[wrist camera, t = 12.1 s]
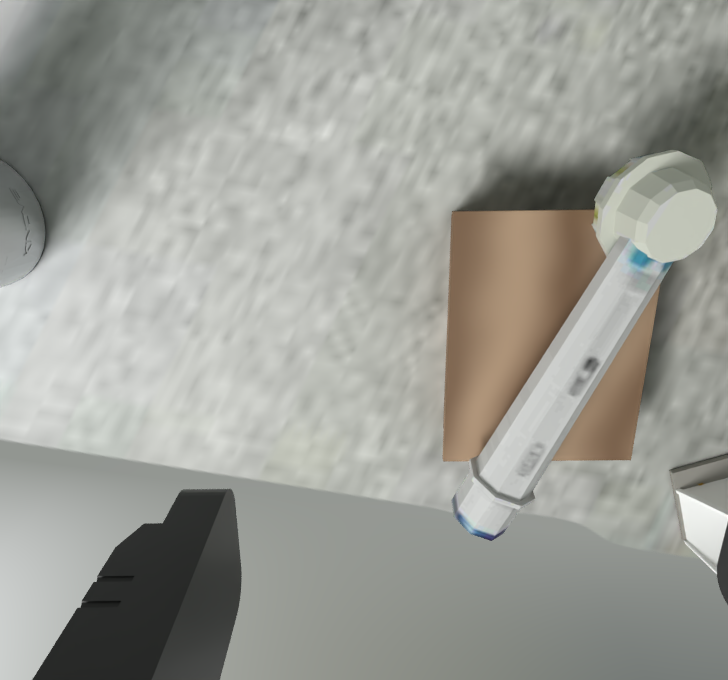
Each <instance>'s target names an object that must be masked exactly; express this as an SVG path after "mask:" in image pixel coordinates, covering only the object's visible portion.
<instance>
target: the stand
mask: <svg viewBox="0 0 728 680" xmlns="http://www.w3.org/2000/svg"><path fill="white" fill-rule="evenodd" d="M594 212H595V209H582V210H501V211H452V218H451V244H450V269H449V295H448V321H447V347H446V372H445V398H444V424H443V428H444V436H443V461H469V460H470V459H471V458H473V457H476V456H478V455H480V453H481V452H482V450H483V449H484V447H485V446H486V444H487V442H488V441H489V439H490V438H491V436H492V435H493V433H494V432H495V430H496V428H497V427H498V425H499V424H500V422H501V421H502V419H503V418H504V416H505V414H506V413H507V411H508V410H509V408H510V407H511V405H512V404H513V402H514V400H515V399H516V397H517V396H518V394H519V393H520V391H521V390H522V388H523V386H524V385H525V383H526V382H527V380H528V379H529V377H530V376H531V374H532V372H533V371H534V369H535V368H536V366H537V365H538V363H539V362H540V360H541V359H542V357H543V355H544V354H545V352H546V351H547V349H548V348H549V346H550V345H551V343H552V341H553V340H554V338H555V337H556V335H557V334H558V332H559V331H560V329H561V327H562V326H563V324H564V323H565V321H566V320H567V318H568V317H569V315H570V313H571V312H572V310H573V309H574V307H575V306H576V304H577V303H578V301H579V299H580V298H581V296H582V295H583V293H584V292H585V290H586V289H587V287H588V285H589V284H590V282H591V281H592V279H593V278H594V276H595V275H596V273H597V271H598V270H599V268H600V267H601V265H602V264H603V262H604V261H605V259H606V255H605V253H604V251H603V249H602V247H601V245H600V243H599V241H598V239H597V237H596V232H595V230H594V228H593V226H592V223H593V221H594ZM659 289H660V285H659V286H658V288H657V290H656V291H655V293H654V294H653V296H652V298H651V299H650V301H649V303H648V304H647V306H646V307H645V309H644V311H643V312H642V314H641V316H640V317H639V319H638V320H637V322H636V324H635V325H634V327H633V329H632V330H631V332H630V333H629V335H628V337H627V338H626V340H625V342H624V343H623V345H622V346H621V348H620V350H619V351H618V353H617V355H616V356H615V358H614V359H613V361H612V363H611V364H610V366H609V368H608V369H607V371H606V372H605V374H604V376H603V377H602V379H601V381H600V382H599V384H598V385H597V387H596V389H595V390H594V392H593V394H592V395H591V397H590V398H589V400H588V402H587V403H586V405H585V407H584V408H583V410H582V411H581V413H580V415H579V416H578V418H577V420H576V421H575V423H574V424H573V426H572V428H571V429H570V431H569V433H568V434H567V436H566V438H565V439H564V441H563V442H562V444H561V446H560V447H559V449H558V451H557V452H556V454H555V455H554V457H553V459H552V460H551V461H566V460H631V456H632V450H633V444H634V438H635V432H636V426H637V420H638V414H639V408H640V402H641V396H642V390H643V385H644V379H645V373H646V367H647V361H648V355H649V349H650V343H651V337H652V331H653V325H654V319H655V313H656V307H657V301H658V295H659Z"/></svg>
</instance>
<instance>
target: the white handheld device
mask: <svg viewBox="0 0 728 680" xmlns="http://www.w3.org/2000/svg"><path fill="white" fill-rule="evenodd" d="M629 160H630V161H629V162H628V163H627V164H626V165H624V166H623V167H622V168H621V169H619V170H618V171H617V172H616V173H614V174H613V175H612V176H610V177H608V176H607V178H606V180H605V182H604V183H603V185H602V187H601V188H600V190H599V192H598V194H597V195H596V197H595V199H594V201H596V203H595V212H594V221H593V223H592V226H593V228H594V230H595V232H596V237H597V239H598V241H599V243H600V245H601V247H602V249H603V251H604V253H605V255H606V259H605V261H604V262H603V264H602V265H601V267H600V268H599V270H598V271H597V273H596V275H595V276H594V278H593V279H592V281H591V282H590V284H589V285H588V287H587V289H586V290H585V292H584V293H583V295H582V296H581V298H580V299H579V301H578V303H577V304H576V306H575V307H574V309H573V310H572V312H571V313H570V315H569V317H568V318H567V320H566V321H565V323H564V324H563V326H562V327H561V329H560V331H559V332H558V334H557V335H556V337H555V338H554V340H553V341H552V343H551V345H550V346H549V348H548V349H547V351H546V352H545V354H544V355H543V357H542V359H541V360H540V362H539V363H538V365H537V366H536V368H535V369H534V371H533V372H532V374H531V376H530V377H529V379H528V380H527V382H526V383H525V385H524V386H523V388H522V390H521V391H520V393H519V394H518V396H517V397H516V399H515V400H514V402H513V404H512V405H511V407H510V408H509V410H508V411H507V413H506V414H505V416H504V418H503V419H502V421H501V422H500V424H499V425H498V427H497V428H496V430H495V432H494V433H493V435H492V436H491V438H490V439H489V441H488V442H487V444H486V446H485V447H484V449H483V450H482V452H481V453H480V455H478V456H476V457H473V458H471V459H470V460H469V462H468V464H469V470H470V471H469V473H468V474H467V476H466V477H465V479H464V481H463V482H462V484H461V486H460V487H459V489H458V491H457V492H456V494H455V495H454V497H453V499H452V508H453V516H454V517H455V518H456V519H457V520H458V522H460V524H462V526H463V527H464V528H465V529H466V530H467V531H468V532H469V533H470V534H473V535H475V536H478V537H482V538H484V539H488V540H490V541H492V540H494V539H495V538H497V537H498V536H500V535H502V534H503V533H504V532H505V530H506V529H507V528H508V526H509V524H510V523H511V522H512V520H513V519H514V517H515V516H516V515H517V513H518V512H519V510H520V509H521V508H523V507H525V506H527V505H528V504H530V503H532V502H533V501H534V499H535V496H534V493H533V490H534V488H535V486H536V485H537V483H538V481H539V480H540V478H541V477H542V475H543V473H544V472H545V470H546V468H547V467H548V465H549V464H550V462H551V460H552V459H553V457H554V455H555V454H556V452H557V451H558V449H559V447H560V446H561V444H562V442H563V441H564V439H565V438H566V436H567V434H568V433H569V431H570V429H571V428H572V426H573V424H574V423H575V421H576V420H577V418H578V416H579V415H580V413H581V411H582V410H583V408H584V407H585V405H586V403H587V402H588V400H589V398H590V397H591V395H592V394H593V392H594V390H595V389H596V387H597V385H598V384H599V382H600V381H601V379H602V377H603V376H604V374H605V372H606V371H607V369H608V368H609V366H610V364H611V363H612V361H613V359H614V358H615V356H616V355H617V353H618V351H619V350H620V348H621V346H622V345H623V343H624V342H625V340H626V338H627V337H628V335H629V333H630V332H631V330H632V329H633V327H634V325H635V324H636V322H637V320H638V319H639V317H640V316H641V314H642V312H643V311H644V309H645V307H646V306H647V304H648V303H649V301H650V299H651V298H652V296H653V294H654V293H655V291H656V290H657V288H658V286H659V285H660V283H661V281H662V280H663V278H664V277H665V275H666V273H667V272H668V270H669V268H670V267H671V265H672V263H673V262H674V261H678V260H681V259H684V258H686V257H687V256H688V255H690V254H691V253H693V252H694V251H696V250H697V249H698V248H700V247H701V246H702V245H703V243H704V242H705V240H706V239H707V237H708V236H709V234H710V233H711V232H712V230H713V228H714V223H715V219H716V214H717V205H716V202H715V199H714V197H713V194H712V192H711V189H712V184H711V182H710V179H709V177H708V174H707V172H706V169H705V167H704V164H703V162H702V161H700V160H698V159H696V158H694V157H691V156H689V155H687V154H685V153H682V152H680V151H677V150H668V151H664V152H660V153H655V154H649V155H644V156H640V157H636V158H631V159H629Z"/></svg>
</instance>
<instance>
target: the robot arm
mask: <svg viewBox="0 0 728 680" xmlns="http://www.w3.org/2000/svg"><path fill="white" fill-rule="evenodd" d="M44 242H45V224H44V218H43V214H42V211H41V208H40V204H39V203H38V201H37V199H36V197H35V195H34V193H33V191H32V189H31V188H30V187H29V186H28V184H27V183H26V182H25V180H24V179H23V178H22V177H21V176H20V175H19V174H18V173H17V172H16V171H15V170H14V169H13V168H12V167H11V166H9V165H8V164H6V163H5V162H3V161H1V160H0V287H3V286H6V285H9V284H12V283H14V282H16V281H18V280H20V279H22V278H23V277H25V276H26V275H27V274H28V273H29V272H30V271H32V269H33V268H34V267H35V265H36V264H37V262H38V261H39V259H40V256H41V254H42V251H43V248H44ZM240 561H241V560H240V550H239V539H238V529H237V518H236V507H235V498H234V494H233V492H232V490H231V489H191V490H190V489H186V490H182V491H181V492H180V493H179V495H178V496H177V498H176V500H175V502H174V504H173V505H172V507H171V509H170V511H169V513H168V515H167V517H166V518H165V520H164V522H163V523H162V524H161V523H160V524H159V523H158V524H143V525H142V526H141V527H140V528H138V529H137V530H136V531H135V532H134V533H132V534H131V535H130V536H129V537H127V538H126V539H125V540H124V541H123V542H121V543H120V544H119V545H118V546H117V547H115V549H114V551H113V552H112V554H111V555H110V557H109V559H108V560H107V562H106V563H105V565H104V567H103V568H102V570H101V571H100V573H99V575H98V576H97V577H98V578H97V582H94V583H93V584H92V586H91V587H90V589H89V590H88V592H87V594H86V595H85V597H84V598H83V600H82V605H81V608H77V610H76V611H75V613H74V614H73V616H72V618H71V619H70V621H69V622H68V624H67V626H66V627H65V629H64V630H63V632H62V634H61V635H60V637H59V638H58V640H57V641H56V643H55V645H54V646H53V648H52V649H51V651H50V653H49V654H48V656H47V657H46V659H45V661H44V662H43V664H42V665H41V667H40V669H39V670H38V672H37V674H36V675H35V677H34V678H33V680H220V676H221V673H222V669H223V665H224V661H225V658H226V653H227V650H228V646H229V643H230V639H231V635H232V631H233V627H234V624H235V620H236V616H237V612H238V607H239V601H240V593H241V562H240ZM717 578H718V583H719V587H720V590H721V592H722V595H723V597H724V599H725V601H726V602H727V604H728V523H727V527H726V531H725V535H724V539H723V543H722V547H721V551H720V555H719V559H718V563H717Z"/></svg>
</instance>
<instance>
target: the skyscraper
mask: <svg viewBox="0 0 728 680" xmlns="http://www.w3.org/2000/svg"><path fill="white" fill-rule="evenodd" d="M669 471H670V476H671V481H672V487H673V492H674V497H675V503H676V508H677V514H678V519H679V524H680V530H681V535H682V540H683V541H684V543H685V544H686V545H687V546H688V547H689V548H690V549H691V550H692V551H693V552H694V553H695V554H696V555H697V556H698V557H699V558H700V559H702V560H703V561H704V562H705V563H706V564H707V565H708V566H709V567H710V568H711V569H712V570H713V571H714V572H715V573H716V574H717V563H718V559H719V555H720V551H721V547H722V543H723V539H724V535H725V531H726V527H727V523H728V454H727V455H723V456H720V457H716V458H712V459H709V460H705V461H702V462H698V463H694V464H691V465H687V466H684V467H680V468H676V469H673V470H669Z"/></svg>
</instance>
